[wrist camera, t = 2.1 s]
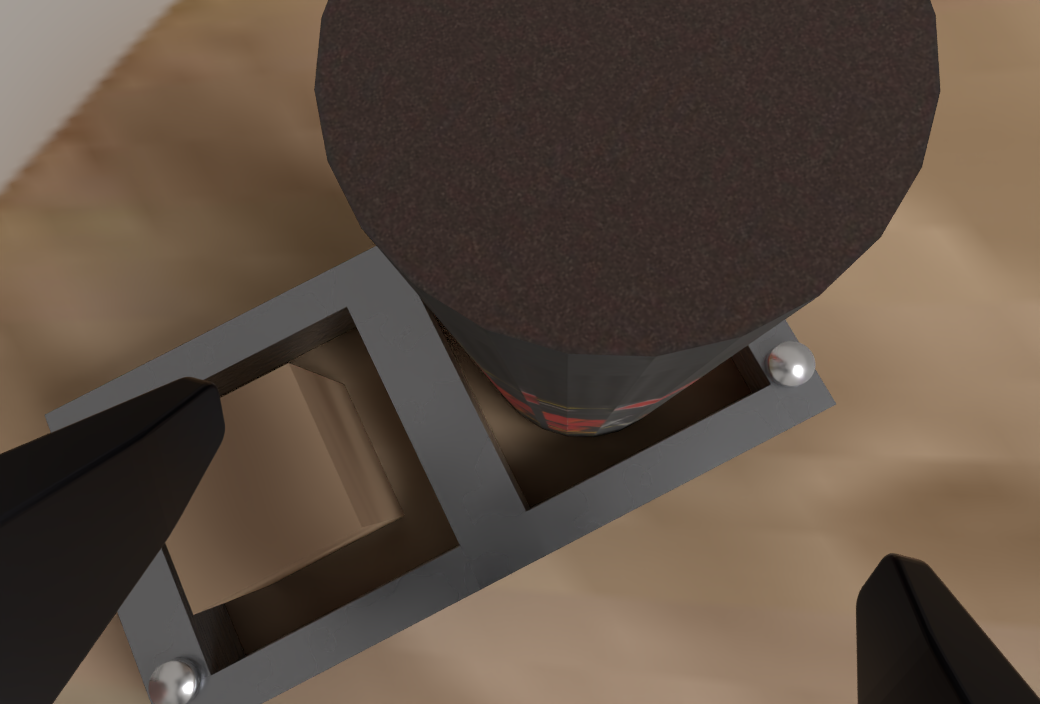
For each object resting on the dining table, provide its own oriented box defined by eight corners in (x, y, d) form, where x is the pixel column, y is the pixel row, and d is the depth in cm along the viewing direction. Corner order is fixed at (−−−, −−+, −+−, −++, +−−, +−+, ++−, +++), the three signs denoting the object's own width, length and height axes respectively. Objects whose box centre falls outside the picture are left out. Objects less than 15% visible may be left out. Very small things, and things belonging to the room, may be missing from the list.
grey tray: (207, 724, 20) (160, 757, 18) (91, 419, 22) (33, 413, 20) (810, 410, 21) (842, 402, 18) (647, 135, 22) (656, 96, 20)
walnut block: (272, 584, 21) (193, 614, 16) (217, 450, 22) (127, 445, 17) (405, 515, 21) (362, 527, 17) (345, 384, 22) (288, 363, 17)
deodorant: (479, 259, 22) (304, -168, 7) (667, 239, 22) (879, -248, 7) (495, 446, 21) (326, 388, 6) (691, 427, 21) (1001, 323, 6)
